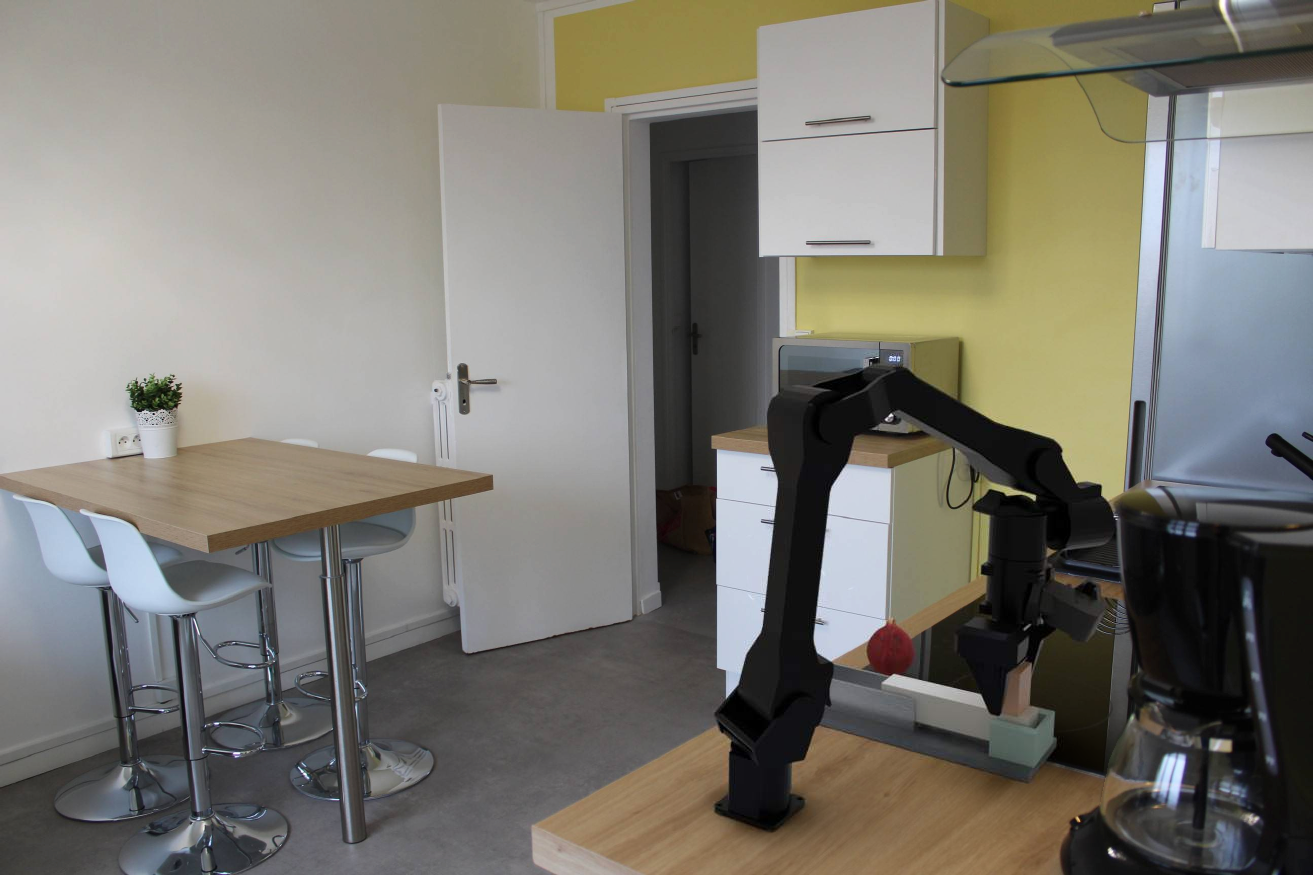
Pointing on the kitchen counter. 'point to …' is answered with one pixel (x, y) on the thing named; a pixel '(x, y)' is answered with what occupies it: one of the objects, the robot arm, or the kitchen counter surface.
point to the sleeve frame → (907, 724)
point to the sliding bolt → (966, 703)
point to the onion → (890, 650)
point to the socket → (1022, 739)
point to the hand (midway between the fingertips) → (1009, 700)
